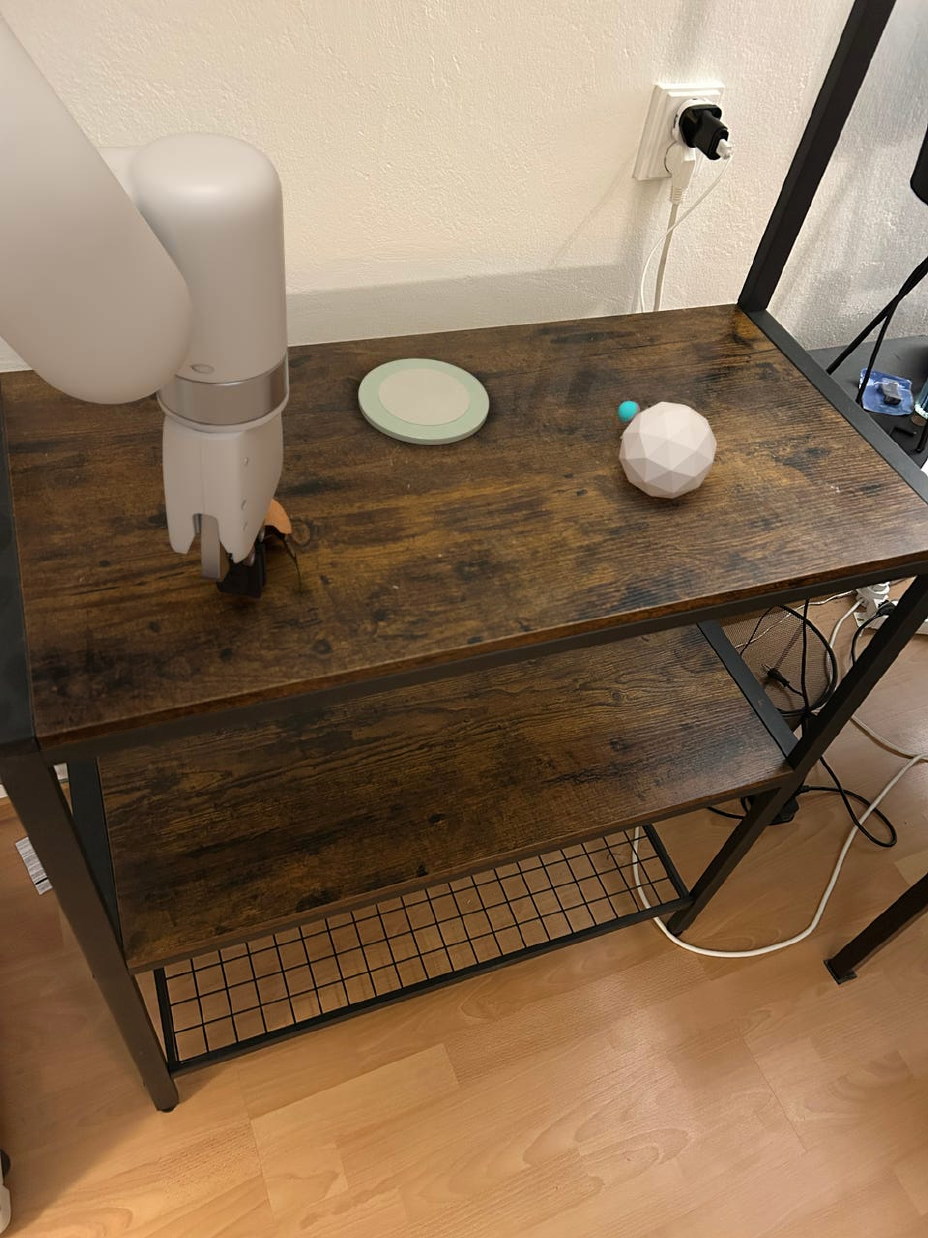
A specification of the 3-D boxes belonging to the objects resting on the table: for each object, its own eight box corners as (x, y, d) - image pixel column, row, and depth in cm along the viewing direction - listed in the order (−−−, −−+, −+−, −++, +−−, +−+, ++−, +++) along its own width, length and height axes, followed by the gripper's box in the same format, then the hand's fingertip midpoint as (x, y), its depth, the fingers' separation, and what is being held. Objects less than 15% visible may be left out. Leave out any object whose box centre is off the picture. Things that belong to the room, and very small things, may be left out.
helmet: (299, 593, 76) (269, 496, 76) (317, 581, 70) (284, 475, 70) (226, 613, 74) (195, 513, 74) (238, 603, 68) (204, 494, 68)
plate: (383, 455, 84) (383, 447, 83) (341, 373, 91) (341, 366, 90) (509, 433, 88) (510, 426, 87) (459, 356, 94) (460, 349, 94)
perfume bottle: (634, 497, 78) (564, 421, 86) (690, 528, 84) (619, 455, 92) (699, 419, 75) (621, 349, 83) (752, 457, 81) (674, 387, 89)
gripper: (199, 292, 60) (222, 508, 74) (107, 441, 50) (153, 658, 64) (318, 313, 60) (319, 525, 74) (248, 466, 50) (264, 678, 64)
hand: (242, 586), depth 69 cm, fingers closed
